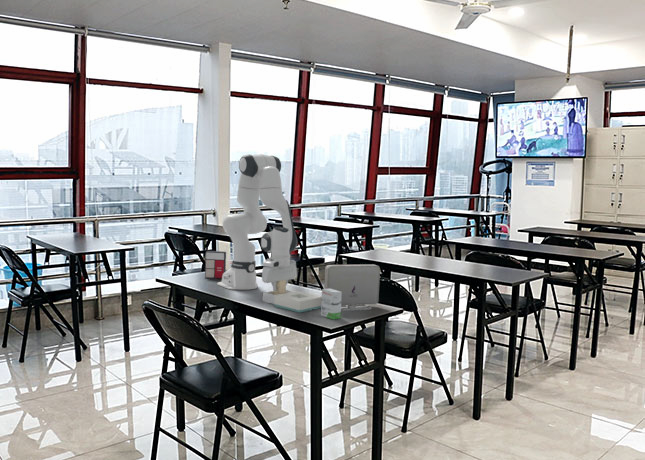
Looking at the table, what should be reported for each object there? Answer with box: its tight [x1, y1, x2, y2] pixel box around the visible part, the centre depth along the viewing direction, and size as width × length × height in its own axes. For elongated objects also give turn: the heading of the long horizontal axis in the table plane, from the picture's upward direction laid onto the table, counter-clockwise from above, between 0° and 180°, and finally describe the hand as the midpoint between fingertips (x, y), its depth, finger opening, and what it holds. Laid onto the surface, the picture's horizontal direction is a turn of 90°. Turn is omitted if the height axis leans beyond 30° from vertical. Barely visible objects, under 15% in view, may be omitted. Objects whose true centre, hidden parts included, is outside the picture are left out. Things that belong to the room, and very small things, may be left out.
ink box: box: [320, 288, 342, 320], centre depth 256 cm, size 9×5×12 cm, turn 37°
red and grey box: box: [204, 250, 227, 280], centre depth 335 cm, size 11×4×15 cm, turn 88°
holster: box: [262, 288, 295, 305], centre depth 284 cm, size 8×14×4 cm, turn 138°
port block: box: [273, 290, 322, 313], centre depth 273 cm, size 16×16×5 cm
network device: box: [323, 263, 381, 312], centre depth 274 cm, size 26×9×20 cm, turn 108°
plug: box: [273, 280, 287, 295], centre depth 284 cm, size 4×4×10 cm
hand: (279, 289), depth 284 cm, fingers closed on plug, 4 cm apart
